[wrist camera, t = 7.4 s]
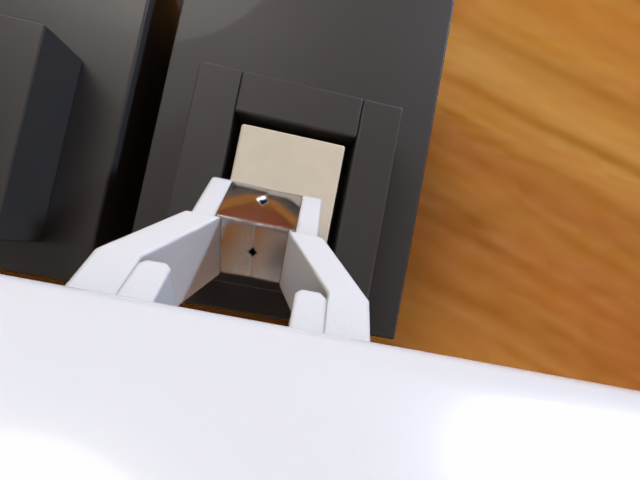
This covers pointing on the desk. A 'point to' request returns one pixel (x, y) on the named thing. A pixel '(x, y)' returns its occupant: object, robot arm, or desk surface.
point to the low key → (290, 166)
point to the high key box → (76, 124)
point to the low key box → (306, 124)
